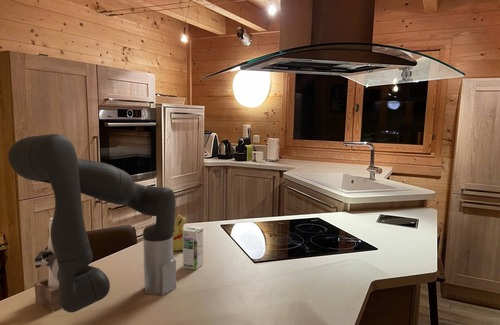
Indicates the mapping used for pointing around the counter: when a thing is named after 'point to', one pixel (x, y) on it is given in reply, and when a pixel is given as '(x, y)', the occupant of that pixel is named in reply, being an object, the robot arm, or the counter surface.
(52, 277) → the cosmetic bottle
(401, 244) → the counter surface
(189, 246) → the syrup box
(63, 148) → the robot arm
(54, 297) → the holder
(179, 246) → the chocolate bunny
